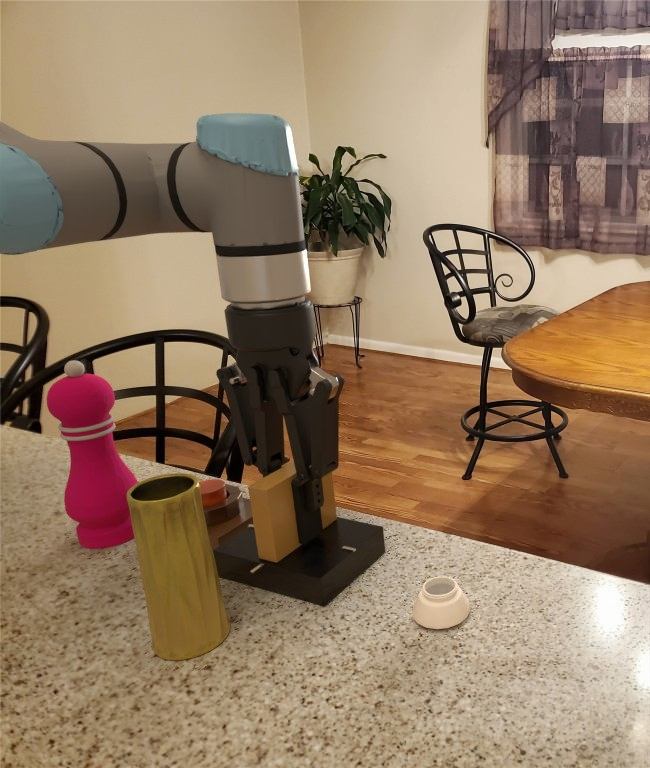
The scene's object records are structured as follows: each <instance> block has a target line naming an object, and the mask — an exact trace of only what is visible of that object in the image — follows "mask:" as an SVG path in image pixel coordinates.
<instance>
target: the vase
mask: <svg viewBox="0 0 650 768" xmlns="http://www.w3.org/2000/svg"><path fill="white" fill-rule="evenodd" d="M199 482H200V481H199V479H198V477H196V476H195V475H193V474H190V473H183V472H175V473H166V474H165V473H164V474H160V475H157V476H152V477H148V478H146V479H143V480H141V481H138V483H137V484H135V485H134V486H133V487H131V488H130V489H129V490H128V492H127V502H128V505H129V510H130V515H131V521H132V527H133V532H134V542H135V548H136V554H137V559H138V565H139V571H140V576H141V582H142V588H143V592H144V593H143V594H144V599H145V603H146V610H147V617H148V622H149V629H150V635H151V648H152V651H153V652H154V654H155V655H156V656H157V657H158V658H160V659H163V660H167V661H187V660H190V659H194V658H197V657H200V656H202V655H205V654H207V653H210V652H211V651H212V650H214V649H215V648H218V647H219V646H220V645H221V644H222V643H223V642H224V641H225V639H227V637H228V635H229V633H230V631H231V622H230V619H229V617H228V615H227V612H226V606H225V601H224V596H223V591H222V586H221V582H220V578H219V577H218V572H217V567H216V562H215V558H214V553H213V549H212V546H211V543H210V539H209V536H208V532H207V526H206V520H205V515H204V510H203V505H202V498H201V489H200V484H199Z"/></svg>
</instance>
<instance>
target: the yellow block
mask: <svg viewBox="0 0 650 768" xmlns="http://www.w3.org/2000/svg"><path fill="white" fill-rule="evenodd" d="M296 477H297V473H296V469H295V465H294V460H293V461H290V462H288V463H286V464H284V465H283V466H282V468H280V469H278V470H277V471H275V472H273V473H271V474H269V475H268V476H266V477H264V478H263V477H262V478H261V479H259V480H256V481H255V482H254V483H252V484H250V485H248V486H247V491H248V496H249V499H250V504H251V510H252V517H253V523H254V530H255V536H256V542H257V549H258V555H259V558H260V559H264V560H268V561H271V562H275V563H277V562H279V561H280V560H282V559H283V558H284V557H286V556H287V555H288V554H290V553H291V552H292V551H294V550H295V549H297V548H298V547H299V546H301V545H302V544H301V543H299V539H298V531H297V523H296V516H295V508H294V501H293V493H292V486H291V482H292V480H293V479H294V478H296ZM333 478H334V477H333V472H331V473H329V474H328V475H326V476H325V477H323V478H322V486H323V494H324V495H323V496H324V504H323V506H322V507H320V509H321V517H322V525H323V529H324V528H325V527H327V526H328V525H330V524H331V523H332V522H334V521H335V520H336V519H337V517H338V515H337V513H336V509H337V505H336V496H335V488H334V479H333Z"/></svg>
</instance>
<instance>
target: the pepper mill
mask: <svg viewBox="0 0 650 768" xmlns="http://www.w3.org/2000/svg"><path fill="white" fill-rule="evenodd" d="M63 370H64V371H63V372H64V373H65V374H66V375H67V376H63V377H61V378H60V379H58V380H57V381H55V382H54V383H53V384H52V385H51V386H50V387H49V389H48V391H47V393H46V407H47V410H48V412H49V413H50V415H51V416H53V418H55V419H56V420H58V421H59V422H60V424H58V426H57V427H58V430H59V431H60V435H59V436H60V438H61V439H62V440H64V441H66V443H67V446H68V448H69V457H70V467H69V474H68V478H67V481H66V486H65V489H64V498H63V502H64V509H65V513H66V515H67V516H68V517H69V518H70V519H71V520H73V521H74V522H76V523H78V524H77V525H76V529H75V531H76V535H77V540H78V543H79V545H80V546H82V547H83V548H86V549H91V550H98V549H99V550H100V549H107V548H112V547H115V546H119V545H123V544H124V543H127V542H128V541H129V542H130V541H131V540H133V539H135V537H134V532H133V527H132V521H131V515H130V510H129V505H128V502H127V492H128V490H129V489H130V488H131V487H133V486H134V485H135V484H137V483H139V481H138V479H137V477H136V475H135V474H134V473H133V472H132V471H131V469H130V468H129V467H128V466H127V465H126V463H125V462H124V461H123V459H122V458H121V456H120V453H119V452H118V450H117V448H116V443H115V440H114V435H113V431H114V430H115V429H116V427H117V426H116V423H115V421H114V420H115V417H114V415H113V414H111V413H110V412H111V411H112V409H113V407H114V405H115V403H116V396H115V391H114V390H113V387H112V384H110V383H109V381H108V380H106V379H105V378H104V377H102V376H100V375H97V374H92V373H85V371H86V369H85V365H84V363H82V362H81V361H79V360H73V359H72V360H69V361H67V362H66V363H65V365H64V368H63Z"/></svg>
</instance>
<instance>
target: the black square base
mask: <svg viewBox="0 0 650 768" xmlns="http://www.w3.org/2000/svg"><path fill="white" fill-rule="evenodd" d="M341 510H343V508H342V507H341V506H339V507H336V514H337V513H338V512H340V511H341ZM248 527H249V528H247V529H246V530H244V531H242V532H241V533H239V534H238V535H236V536H235V537H233V538H232V539H230V540H228V541H227V542H225V543H224V544H222V545H221V546H219V547H218V548H216V549H214V550H213V553H214V558H215V562H216V567H217V572H218V577H219V579H223V580H227V581H231V582H233V583H234V582H235V583H237V584H241V585H244V586H249V587H252V588H256V589H259V590H261V591H266V592H270V593H273V594H277V595H281V596H284V597H288V598H292V599H296V600H298V601H301V602H302V601H303V602H306V603H309V604H313V605H316V606H320V607H326V606H328V604H329V603H331V601H333V600H334V599H335V598H336V597H337V596H339V594H340V593H342V592H343V591H344V590H345V589H346V588H347V587H349V586H350V585H351V584H352V583H353V582H354V581H355V580H357V578H358V577H360V575H362V574H363V573H364V572H365V571H366V570H367V569H369V568H370V567H371V566H372V565H373V564H375V562H376V561H377V560H379V558H381V557H382V556H383V555H384V554H385V553H386V544H385V533H384V526H381V525H376V524H373V523H369V522H363V521H358V520H354V519H348V518H344V517H340V516H337V519H336V520H335V521H334V522H332V523H331V524H330V525H328V526H327V527H325V528H324V529H323V532H322V533H320V534H319V535H317V536H316V537H315V538H313V539H312V540H311V541H309V542H308V543H306V544H302V545H301V546H299V547H298V548H297V549H295V550H294V551H292V552H291V553H290V554H288V555H287V556H286V557H284V558H283V559H282V560H280V561H279V562H277V563H275V562H271V561H268V560H264V559H260V558H259V555H258V549H257V542H256V536H255V530H254V524H253V525H252V524H250V525H248Z"/></svg>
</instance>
